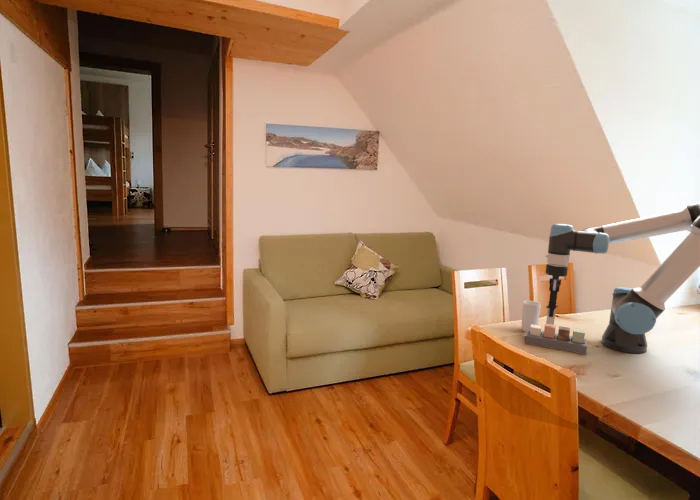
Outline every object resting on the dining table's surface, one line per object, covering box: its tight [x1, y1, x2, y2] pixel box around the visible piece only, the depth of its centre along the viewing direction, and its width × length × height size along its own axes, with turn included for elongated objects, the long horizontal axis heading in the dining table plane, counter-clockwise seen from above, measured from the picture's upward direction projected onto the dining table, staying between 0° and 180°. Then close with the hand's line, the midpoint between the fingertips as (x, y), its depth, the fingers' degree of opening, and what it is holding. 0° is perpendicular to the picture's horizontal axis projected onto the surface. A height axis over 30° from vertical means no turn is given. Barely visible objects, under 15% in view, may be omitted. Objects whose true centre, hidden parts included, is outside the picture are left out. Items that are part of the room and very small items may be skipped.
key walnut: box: [557, 325, 571, 341], centre depth 167 cm, size 4×4×4 cm
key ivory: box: [530, 324, 542, 336], centre depth 172 cm, size 4×4×4 cm
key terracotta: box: [543, 323, 556, 338], centre depth 169 cm, size 4×4×4 cm
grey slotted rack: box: [525, 329, 588, 355], centre depth 169 cm, size 21×9×3 cm, turn 64°
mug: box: [520, 300, 542, 333], centre depth 185 cm, size 10×7×12 cm, turn 138°
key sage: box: [571, 327, 586, 343], centre depth 165 cm, size 4×4×4 cm
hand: (549, 323), depth 169 cm, fingers closed
